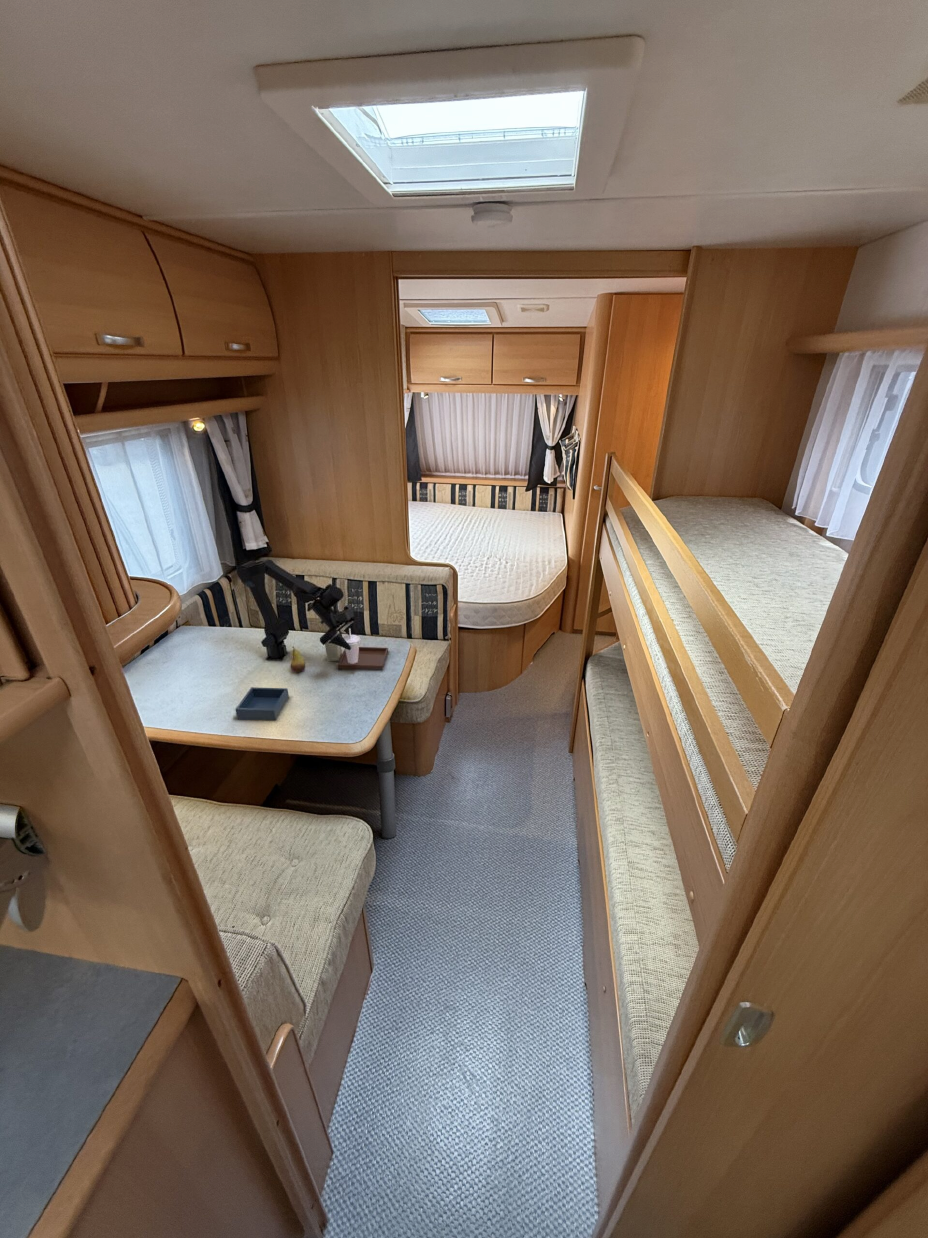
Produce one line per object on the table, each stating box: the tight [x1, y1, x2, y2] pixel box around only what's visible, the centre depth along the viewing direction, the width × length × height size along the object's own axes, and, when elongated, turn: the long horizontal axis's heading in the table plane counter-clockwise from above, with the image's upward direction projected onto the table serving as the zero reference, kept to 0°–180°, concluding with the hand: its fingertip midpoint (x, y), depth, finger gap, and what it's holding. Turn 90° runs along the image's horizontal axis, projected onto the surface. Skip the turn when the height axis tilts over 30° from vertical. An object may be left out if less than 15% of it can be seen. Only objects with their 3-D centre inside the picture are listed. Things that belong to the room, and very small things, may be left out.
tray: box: [337, 646, 389, 671], centre depth 195 cm, size 17×14×2 cm
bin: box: [234, 686, 290, 721], centre depth 165 cm, size 13×13×4 cm
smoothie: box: [343, 628, 361, 664], centre depth 181 cm, size 6×6×14 cm
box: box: [324, 640, 343, 662], centre depth 194 cm, size 5×4×11 cm
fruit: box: [290, 646, 306, 673], centre depth 185 cm, size 6×6×12 cm
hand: (355, 645), depth 181 cm, fingers closed on smoothie, 6 cm apart
